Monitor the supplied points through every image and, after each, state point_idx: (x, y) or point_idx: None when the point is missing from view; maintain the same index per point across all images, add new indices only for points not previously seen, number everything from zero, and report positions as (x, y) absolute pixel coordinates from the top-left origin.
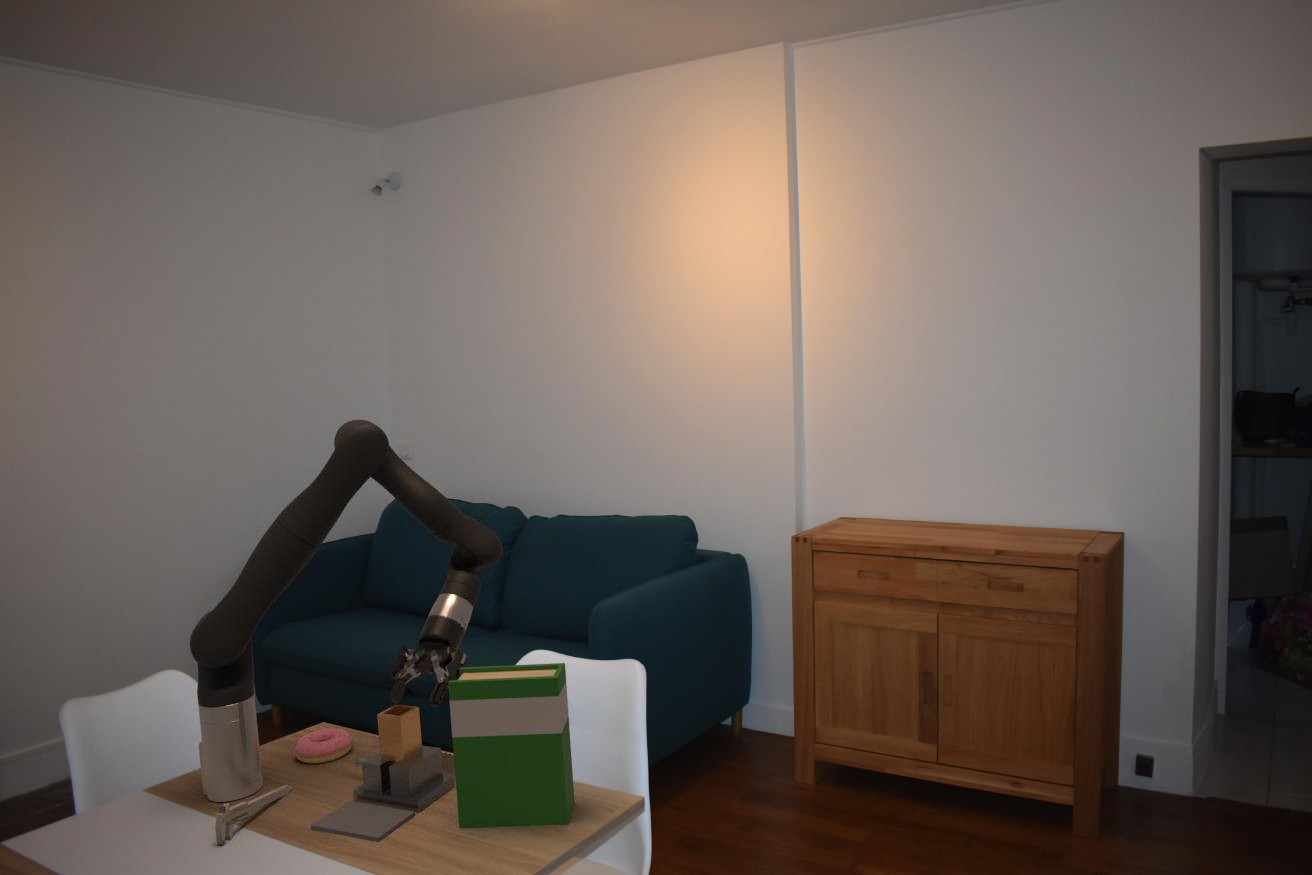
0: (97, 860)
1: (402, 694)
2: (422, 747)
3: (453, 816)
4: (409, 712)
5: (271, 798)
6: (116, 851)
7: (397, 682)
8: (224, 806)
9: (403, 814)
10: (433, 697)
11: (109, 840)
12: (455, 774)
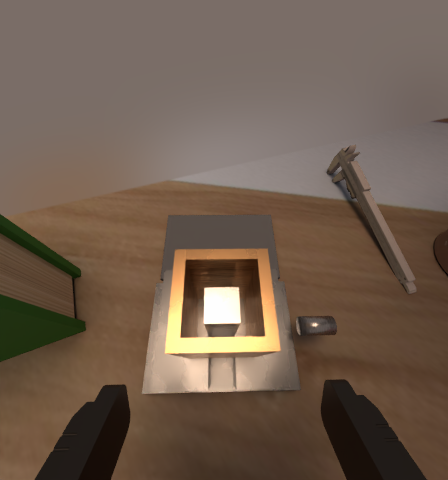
0: (401, 133)
1: (343, 469)
2: (201, 380)
3: (102, 293)
4: (171, 294)
5: (381, 240)
6: (406, 144)
7: (397, 475)
8: (349, 147)
9: (172, 267)
10: (92, 408)
11: (438, 153)
12: (24, 231)
